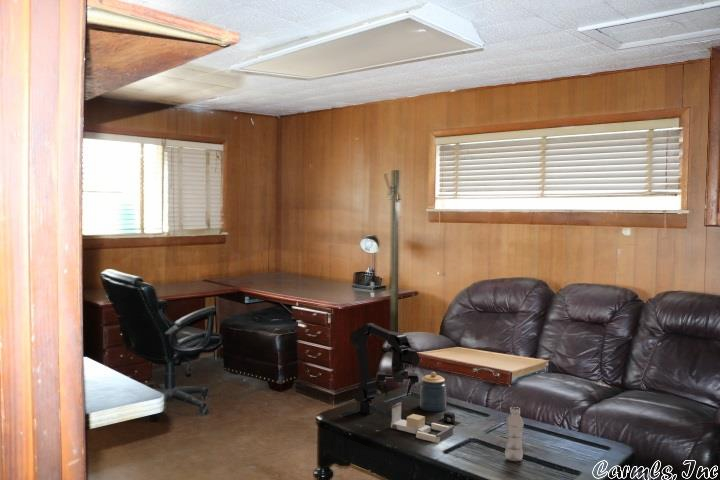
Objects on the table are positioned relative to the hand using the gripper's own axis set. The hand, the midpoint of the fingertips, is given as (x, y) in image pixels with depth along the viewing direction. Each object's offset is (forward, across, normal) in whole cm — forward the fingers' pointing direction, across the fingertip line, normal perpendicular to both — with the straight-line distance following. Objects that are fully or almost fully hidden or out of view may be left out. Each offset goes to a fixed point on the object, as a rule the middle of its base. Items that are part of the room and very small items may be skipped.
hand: (396, 395), depth 269 cm
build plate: (+13, +25, +3) cm, 28 cm away
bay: (+12, +16, -15) cm, 25 cm away
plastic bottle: (+11, +44, -40) cm, 60 cm away
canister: (+13, +19, +23) cm, 33 cm away
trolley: (+12, +6, -8) cm, 16 cm away
